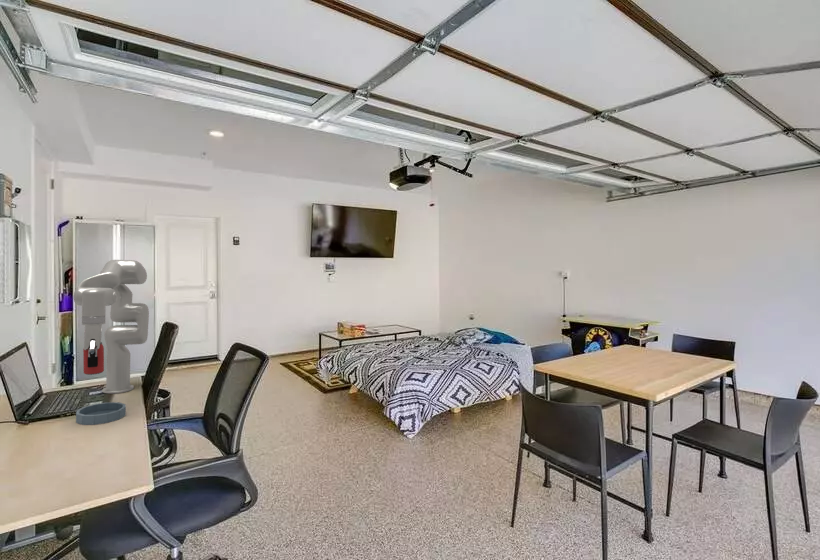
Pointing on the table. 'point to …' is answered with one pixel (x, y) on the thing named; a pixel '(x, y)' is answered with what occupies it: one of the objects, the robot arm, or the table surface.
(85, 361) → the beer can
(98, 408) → the bowl
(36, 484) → the table surface
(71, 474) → the table surface
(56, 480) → the table surface
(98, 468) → the table surface
